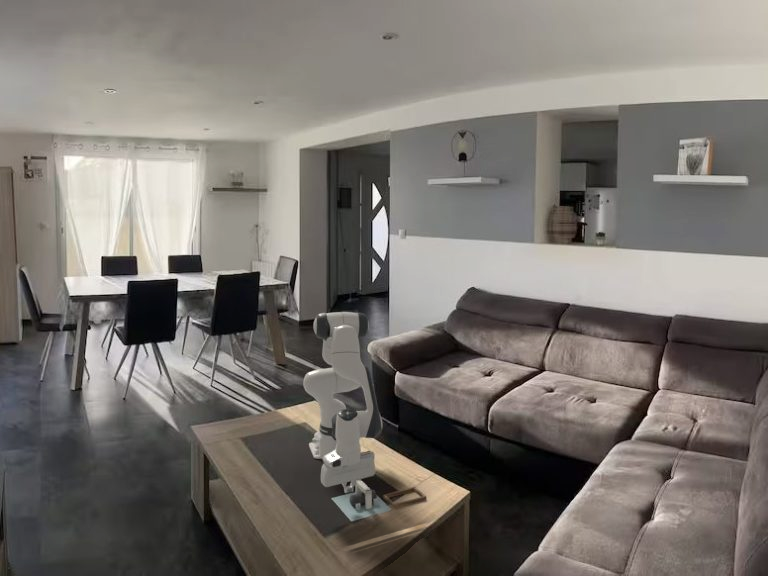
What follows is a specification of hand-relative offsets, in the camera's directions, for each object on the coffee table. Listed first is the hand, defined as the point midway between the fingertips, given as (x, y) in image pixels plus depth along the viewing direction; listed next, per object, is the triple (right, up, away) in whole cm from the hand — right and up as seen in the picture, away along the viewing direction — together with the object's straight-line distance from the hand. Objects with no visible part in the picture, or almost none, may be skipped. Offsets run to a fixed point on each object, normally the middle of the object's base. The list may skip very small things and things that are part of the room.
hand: (348, 491), depth 213 cm
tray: (+20, -6, +7) cm, 22 cm away
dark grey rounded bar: (+5, -5, +4) cm, 8 cm away
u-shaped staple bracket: (+5, -5, +3) cm, 8 cm away
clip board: (+4, -7, +3) cm, 8 cm away
